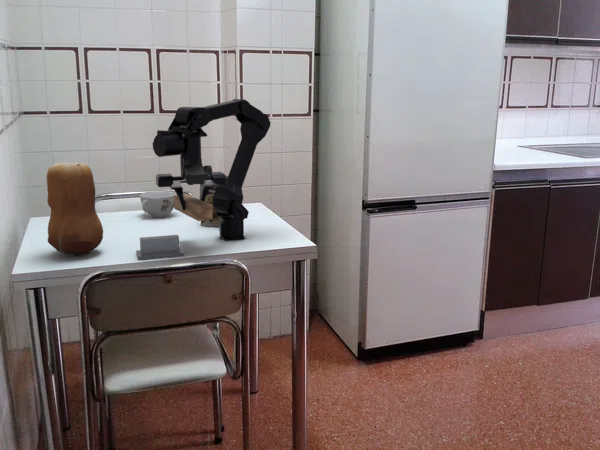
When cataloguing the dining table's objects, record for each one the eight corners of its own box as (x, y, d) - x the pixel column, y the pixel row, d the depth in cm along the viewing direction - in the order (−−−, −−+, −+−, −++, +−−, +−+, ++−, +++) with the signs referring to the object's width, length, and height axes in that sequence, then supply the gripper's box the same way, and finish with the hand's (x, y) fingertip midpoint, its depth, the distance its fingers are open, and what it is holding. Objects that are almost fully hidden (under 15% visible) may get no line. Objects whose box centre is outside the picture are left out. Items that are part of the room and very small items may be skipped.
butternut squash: (89, 244, 164) (83, 157, 158) (113, 254, 155) (107, 162, 149) (40, 253, 154) (31, 161, 148) (63, 264, 145) (54, 167, 140)
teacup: (156, 210, 208) (155, 189, 206) (185, 214, 203) (184, 192, 201) (128, 219, 195) (127, 196, 193) (158, 223, 190) (156, 199, 188)
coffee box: (200, 226, 187) (198, 177, 183) (207, 221, 193) (206, 174, 189) (226, 228, 185) (225, 178, 181) (233, 223, 191) (232, 175, 187)
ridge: (180, 250, 160) (180, 232, 158) (184, 256, 154) (183, 238, 153) (136, 254, 155) (135, 236, 154) (138, 260, 150) (137, 241, 149)
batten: (187, 207, 169) (187, 194, 168) (212, 219, 154) (212, 205, 153) (174, 208, 167) (173, 195, 166) (198, 221, 152) (198, 206, 151)
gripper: (159, 158, 146) (162, 218, 150) (231, 156, 152) (232, 213, 156) (154, 153, 156) (156, 209, 160) (221, 151, 162) (222, 205, 166)
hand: (192, 209), depth 160 cm, fingers closed on batten, 4 cm apart
